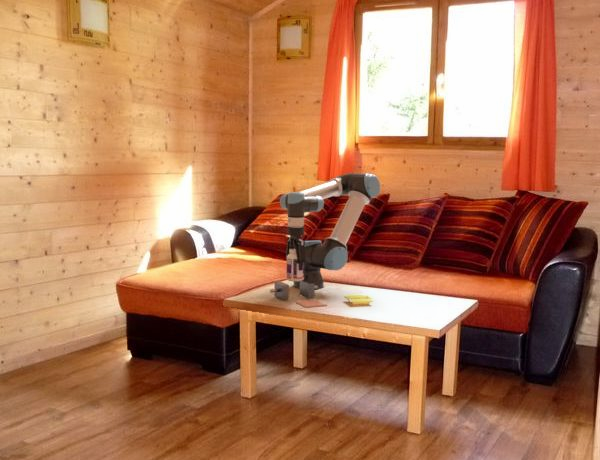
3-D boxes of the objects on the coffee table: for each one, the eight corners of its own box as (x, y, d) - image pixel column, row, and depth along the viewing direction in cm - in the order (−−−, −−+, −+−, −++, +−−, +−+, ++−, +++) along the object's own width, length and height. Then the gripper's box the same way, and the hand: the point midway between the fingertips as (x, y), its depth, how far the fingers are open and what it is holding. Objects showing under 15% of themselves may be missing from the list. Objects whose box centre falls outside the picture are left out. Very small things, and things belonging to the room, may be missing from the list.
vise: (312, 293, 304) (312, 279, 303) (321, 297, 296) (322, 282, 295) (266, 297, 293) (266, 282, 292) (274, 301, 285) (274, 286, 284)
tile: (315, 300, 288) (315, 299, 288) (326, 305, 279) (326, 304, 279) (296, 302, 284) (296, 301, 284) (306, 307, 275) (306, 306, 275)
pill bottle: (306, 279, 296) (306, 248, 294) (300, 282, 289) (301, 251, 287) (289, 278, 299) (290, 247, 297) (284, 281, 291) (284, 250, 289)
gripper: (278, 224, 298) (278, 272, 301) (298, 229, 280) (298, 280, 283) (293, 223, 301) (292, 270, 304) (313, 228, 283) (313, 279, 286)
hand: (295, 275), depth 293 cm, fingers closed on pill bottle, 8 cm apart
